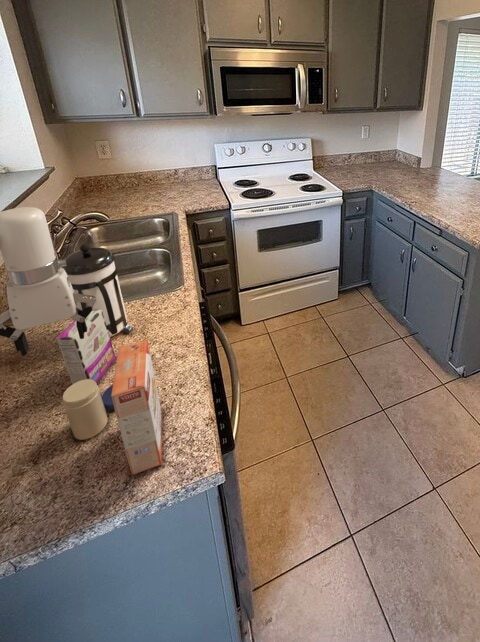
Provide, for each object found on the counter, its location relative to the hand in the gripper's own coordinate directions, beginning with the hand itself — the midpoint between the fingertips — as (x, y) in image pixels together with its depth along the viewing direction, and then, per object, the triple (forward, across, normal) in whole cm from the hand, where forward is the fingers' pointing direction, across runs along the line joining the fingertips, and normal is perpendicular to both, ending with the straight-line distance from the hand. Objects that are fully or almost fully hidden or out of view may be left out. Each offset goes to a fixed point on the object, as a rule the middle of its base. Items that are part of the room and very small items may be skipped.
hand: (54, 343), depth 75 cm
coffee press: (+21, -8, -29) cm, 37 cm away
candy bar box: (+22, -4, -13) cm, 26 cm away
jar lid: (+20, -9, -1) cm, 22 cm away
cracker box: (+21, -13, +14) cm, 29 cm away
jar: (+21, -3, +4) cm, 22 cm away
